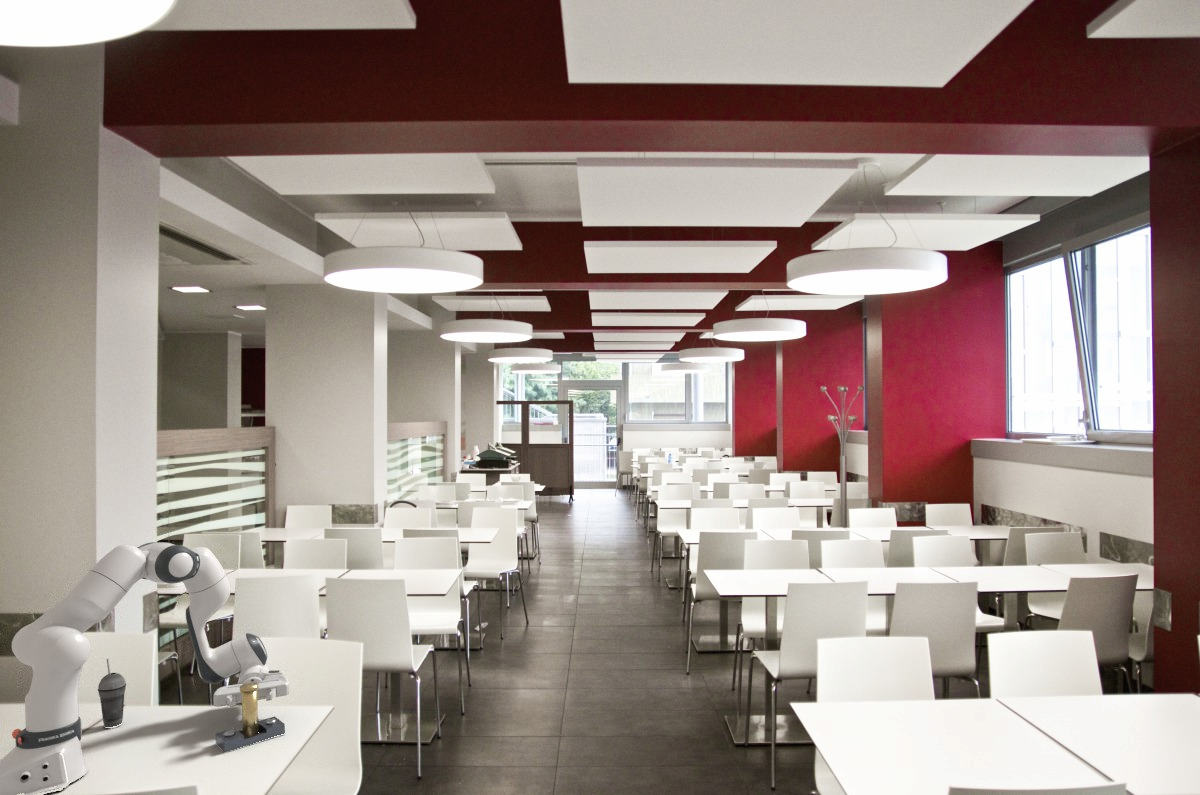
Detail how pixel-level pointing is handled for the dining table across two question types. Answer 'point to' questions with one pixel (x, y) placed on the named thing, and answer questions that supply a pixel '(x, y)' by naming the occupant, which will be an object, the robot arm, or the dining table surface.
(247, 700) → the pin
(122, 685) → the beverage cup
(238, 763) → the dining table surface
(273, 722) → the slotted clamp bar
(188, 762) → the dining table surface
